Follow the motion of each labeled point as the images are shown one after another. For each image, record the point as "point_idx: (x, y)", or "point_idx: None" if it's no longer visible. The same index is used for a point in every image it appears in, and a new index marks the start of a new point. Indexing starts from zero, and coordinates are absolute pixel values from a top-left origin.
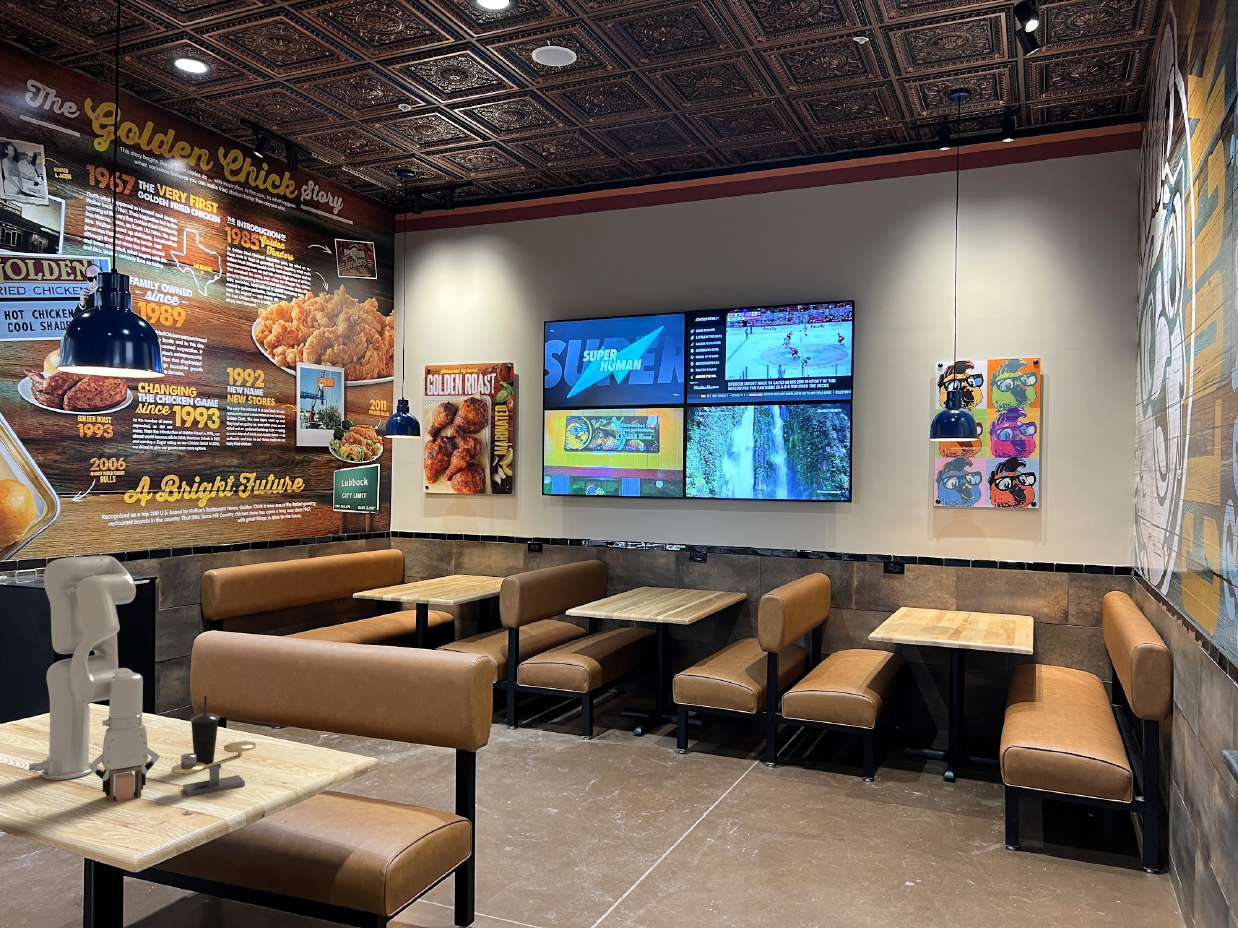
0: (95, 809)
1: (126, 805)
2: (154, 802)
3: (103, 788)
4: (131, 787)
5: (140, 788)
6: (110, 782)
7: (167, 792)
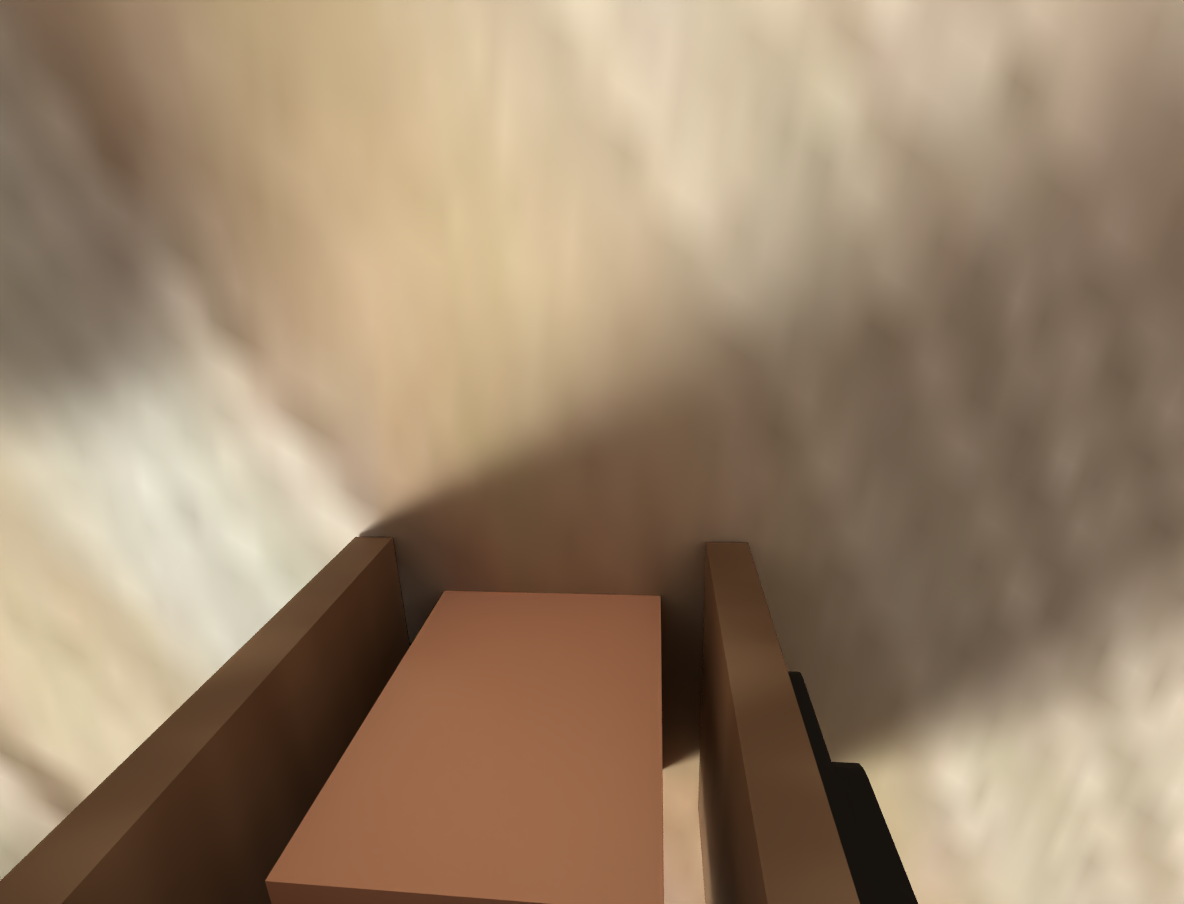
0: (1012, 339)
1: (560, 268)
2: (165, 173)
3: (876, 807)
4: (424, 686)
5: (297, 602)
6: (818, 819)
7: (53, 530)
